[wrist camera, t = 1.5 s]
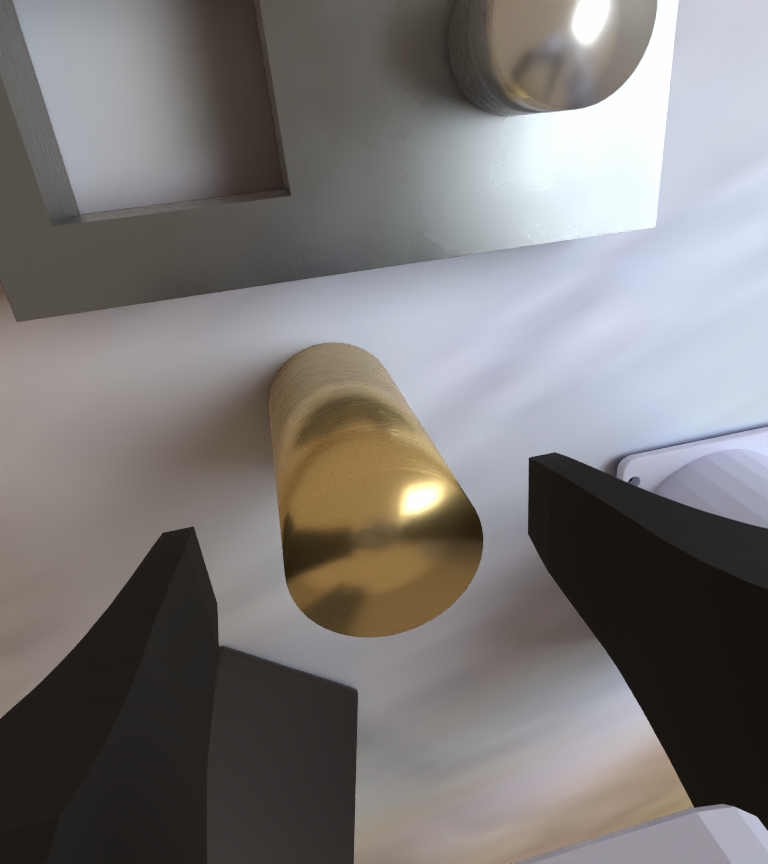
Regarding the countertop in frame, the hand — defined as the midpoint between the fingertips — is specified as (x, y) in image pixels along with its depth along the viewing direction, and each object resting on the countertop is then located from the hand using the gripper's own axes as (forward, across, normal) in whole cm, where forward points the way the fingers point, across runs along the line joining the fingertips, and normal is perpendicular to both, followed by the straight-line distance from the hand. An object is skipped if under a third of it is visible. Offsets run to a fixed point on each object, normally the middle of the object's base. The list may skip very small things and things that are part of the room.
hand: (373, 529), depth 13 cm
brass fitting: (+7, 0, 0) cm, 7 cm away
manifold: (+7, -1, -9) cm, 11 cm away
